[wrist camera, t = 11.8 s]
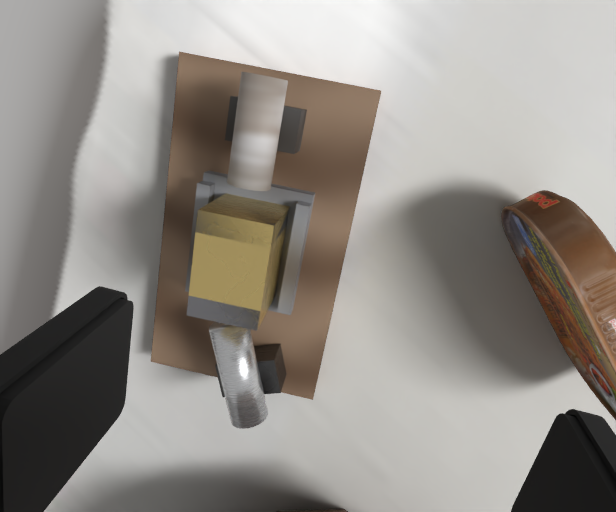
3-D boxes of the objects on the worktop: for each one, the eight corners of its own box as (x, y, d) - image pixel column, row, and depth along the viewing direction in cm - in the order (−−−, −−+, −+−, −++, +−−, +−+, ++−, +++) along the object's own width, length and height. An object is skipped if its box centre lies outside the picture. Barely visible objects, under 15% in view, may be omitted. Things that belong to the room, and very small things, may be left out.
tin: (485, 197, 30) (528, 230, 22) (534, 172, 29) (598, 196, 21) (582, 386, 33) (652, 476, 25) (629, 368, 32) (717, 454, 24)
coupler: (225, 193, 29) (197, 209, 24) (289, 206, 29) (274, 225, 24) (214, 283, 31) (186, 315, 26) (274, 296, 31) (257, 331, 26)
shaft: (214, 305, 32) (190, 336, 28) (271, 298, 32) (255, 330, 27) (234, 388, 34) (214, 430, 30) (288, 384, 34) (276, 426, 29)
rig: (188, 54, 29) (143, 41, 23) (380, 91, 29) (383, 87, 23) (159, 351, 36) (118, 399, 30) (315, 387, 35) (304, 443, 29)
